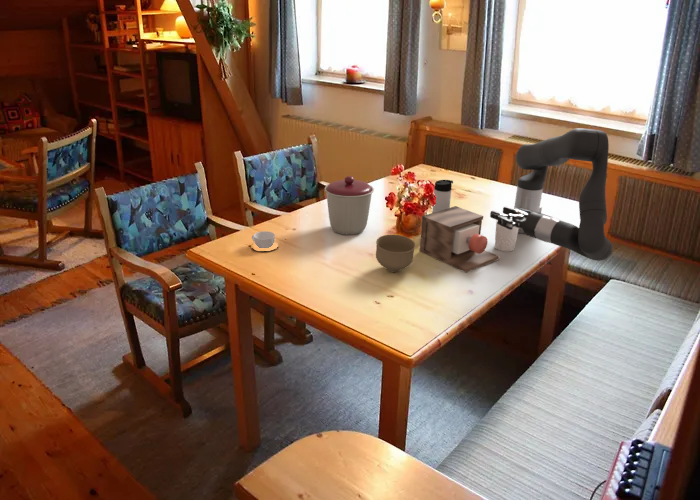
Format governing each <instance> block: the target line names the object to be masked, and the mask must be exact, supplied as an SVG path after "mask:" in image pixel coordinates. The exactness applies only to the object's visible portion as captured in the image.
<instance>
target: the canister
mask: <svg viewBox="0 0 700 500" xmlns="http://www.w3.org/2000/svg"><path fill="white" fill-rule="evenodd" d="M374 189H375V188H374V187H373V186H372V185H370V184H369V183H367V182H365V181H362V180H359V179H358V180H356V179H355V178H354V177H353V176H352V175H348V176H345V177H344V179H340V180H335V181H332V182H330V183H329V184H327V185H325V187H324V192H326V201H327V211H328V219H329V223H330V227H331V229H332V230H333V231H334V232H335V233H337V234H340V235H358V234H360V233H362V232H364V230H365V229H366V227H367V224H368V220H369V214H370V207H371V200H372V193H374Z"/></svg>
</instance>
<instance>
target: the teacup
mask: <svg viewBox="0 0 700 500" xmlns="http://www.w3.org/2000/svg"><path fill="white" fill-rule="evenodd" d="M251 239H252V241H253V242H254V243H255V244H256V245H257V246H258V247H259V248H269V247H271V246H272V245H273V243H274V242H275V241H276V233H274V232H272V231H268V230H267V231H266V230H263V231H258V232H256V233H253V235H252V236H251Z"/></svg>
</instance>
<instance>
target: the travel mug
mask: <svg viewBox="0 0 700 500" xmlns="http://www.w3.org/2000/svg"><path fill="white" fill-rule="evenodd" d="M453 184H454V180H450V179H440V180H436V181H435V182H434V189H433V194H434V193H435V196H437V197H436V204H435V206H433V205H432V210H431V211H432V213H434V212H438V211H441V210H444V209H448V208H451V198H452V187H453V186H452V185H453ZM434 190H435V191H434Z"/></svg>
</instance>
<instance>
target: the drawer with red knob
mask: <svg viewBox="0 0 700 500" xmlns="http://www.w3.org/2000/svg"><path fill="white" fill-rule="evenodd" d="M487 247H488V238H487V237H486V236H484V235H483V234H480V235H479V225H477V224H474V223H471V224H468V225H465V226H462V227H459V228H456V229H454V232H453V242H452V252H453V253H456V254H460V253H463V252H465V251H468V250H471V251H473V252H476V253H478V254H480V253H482V252H483V251H484V250H485V251H486V248H487Z"/></svg>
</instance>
